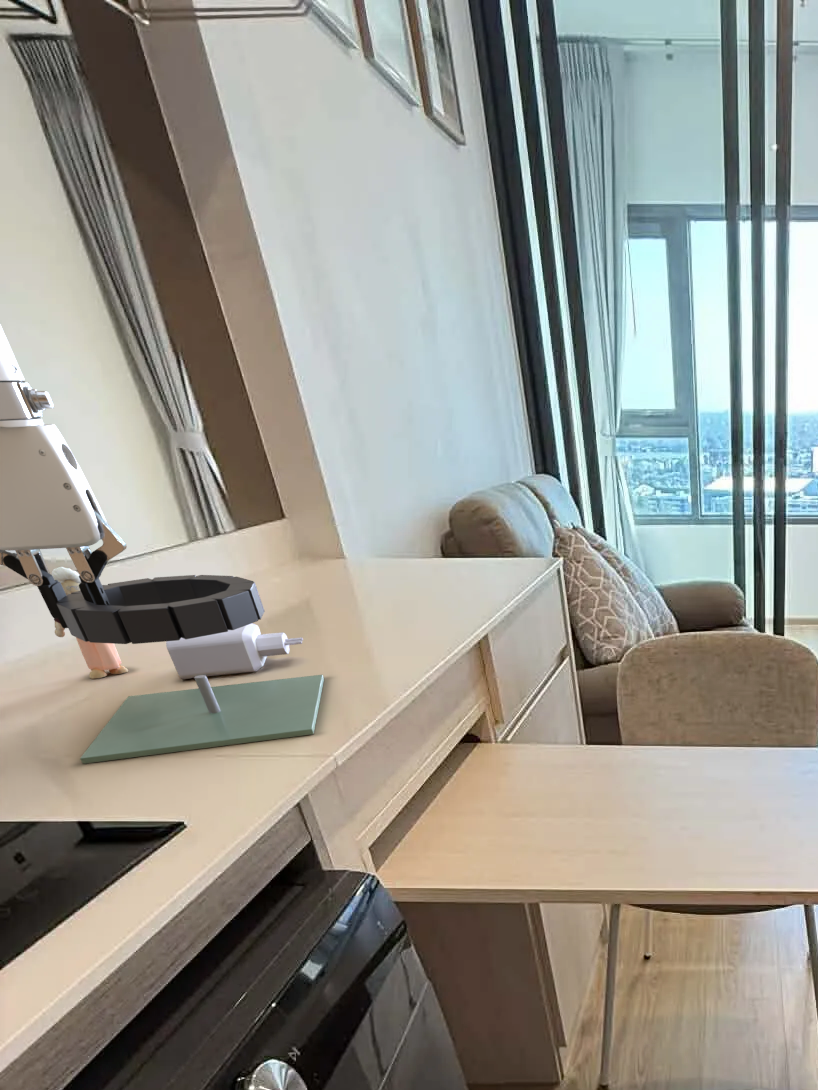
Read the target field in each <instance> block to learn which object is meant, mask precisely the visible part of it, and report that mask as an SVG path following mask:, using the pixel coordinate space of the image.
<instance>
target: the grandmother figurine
mask: <svg viewBox="0 0 818 1090" xmlns="http://www.w3.org/2000/svg"><path fill="white" fill-rule="evenodd" d="M50 574H51V575H52V576H53V578H54V580H58V582H60V583H61V585H62V587H63V589H64V591H65V593H66V595H68V594H71V593H73V592H76V591H80V588H79V584H80V583H81V580H80V578H79V573H78V571H77V570H72V569H71V568H70V567H64V566H59V567H56V568H53V570H52V571H51V573H50ZM53 622H54V629H55V630H54V635H55V636H56V637H58V638H64V637H65V636H66V632H65V630H66V628H63V627H62V626H61V624H60V621H59V619H58V618H53ZM75 639H76V642H77V644H78V647H79V650H80V652H81V654H82V655H81V656H82V657H83V659H84V662H85V663H86V665H87V668H88V669H89V670H90V672H89V675H88V676H89V679H92V680H93V679H94V680H95V679H101V678H105V677H107V676H108V674H107V672H106V671H108V672H109V673H110V674H111V675H120V674H121V675H122V674H125V673H129V669H128V668H127V667H125V666H124V665H122V663H123V662H122V660H121V657H120V655H119V652H118V650H117V647H116V644H113V643H92V642H89V641H88V642H85V641H83V640H81V639H79V638H77V637H75Z"/></svg>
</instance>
